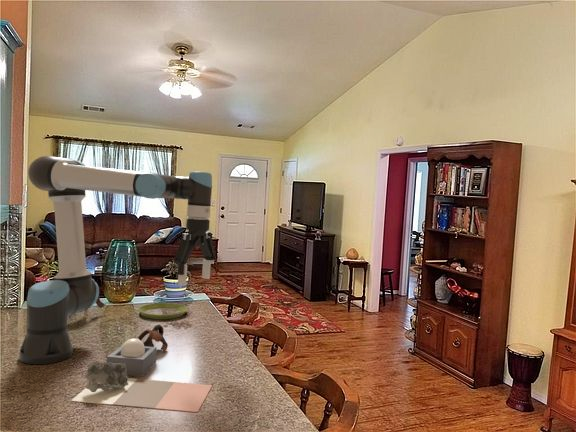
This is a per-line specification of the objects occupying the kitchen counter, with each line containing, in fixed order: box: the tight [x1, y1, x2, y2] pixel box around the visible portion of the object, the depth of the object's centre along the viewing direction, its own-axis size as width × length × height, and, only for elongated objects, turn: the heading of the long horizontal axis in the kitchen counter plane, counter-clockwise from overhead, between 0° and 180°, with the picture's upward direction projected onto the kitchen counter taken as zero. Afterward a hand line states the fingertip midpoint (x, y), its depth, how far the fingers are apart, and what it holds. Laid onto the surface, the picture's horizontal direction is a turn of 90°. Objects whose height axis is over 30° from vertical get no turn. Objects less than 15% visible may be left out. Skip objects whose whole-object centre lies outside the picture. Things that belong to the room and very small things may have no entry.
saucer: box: [138, 302, 188, 320], centre depth 198 cm, size 21×21×3 cm
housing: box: [106, 345, 158, 377], centre depth 138 cm, size 11×11×5 cm
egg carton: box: [84, 361, 129, 392], centre depth 122 cm, size 11×8×4 cm
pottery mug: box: [137, 324, 168, 353], centre depth 154 cm, size 12×9×8 cm
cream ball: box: [121, 337, 145, 357], centre depth 138 cm, size 7×7×7 cm
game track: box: [70, 377, 213, 414], centre depth 122 cm, size 33×16×1 cm, turn 86°
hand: (194, 281), depth 150 cm, fingers open, 13 cm apart
